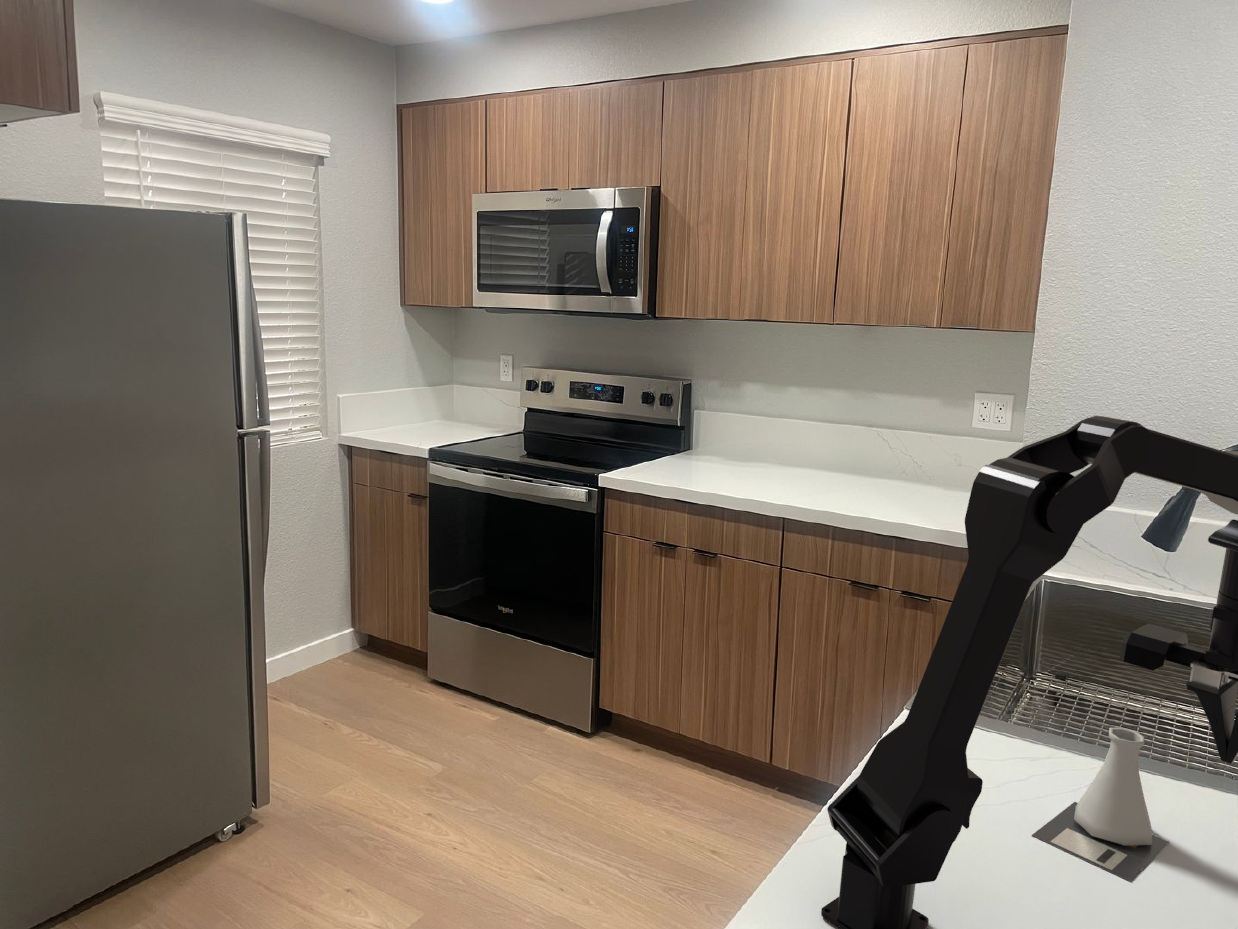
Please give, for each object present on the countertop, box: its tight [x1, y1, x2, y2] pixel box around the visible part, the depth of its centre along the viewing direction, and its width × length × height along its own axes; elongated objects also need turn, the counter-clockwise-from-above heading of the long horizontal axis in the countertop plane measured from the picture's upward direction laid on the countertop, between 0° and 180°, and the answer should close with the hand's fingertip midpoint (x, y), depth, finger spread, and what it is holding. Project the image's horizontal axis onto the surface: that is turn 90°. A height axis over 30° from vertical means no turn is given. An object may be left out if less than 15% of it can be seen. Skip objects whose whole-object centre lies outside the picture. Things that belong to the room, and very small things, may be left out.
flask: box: [1074, 727, 1153, 845], centre depth 90 cm, size 7×7×10 cm
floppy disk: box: [1031, 801, 1170, 882], centre depth 89 cm, size 10×9×1 cm
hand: (1227, 761), depth 83 cm, fingers closed
